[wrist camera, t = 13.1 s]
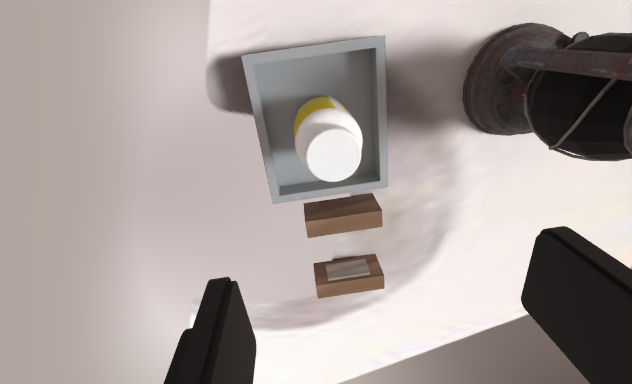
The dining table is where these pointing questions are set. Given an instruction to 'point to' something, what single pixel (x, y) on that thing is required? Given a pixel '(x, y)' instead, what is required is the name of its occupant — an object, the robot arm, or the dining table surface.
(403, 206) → the dining table surface
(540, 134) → the lantern
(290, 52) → the tray
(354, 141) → the supplement bottle
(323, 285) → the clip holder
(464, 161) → the dining table surface
